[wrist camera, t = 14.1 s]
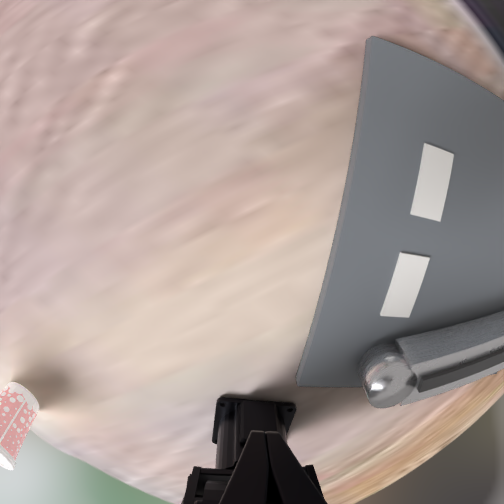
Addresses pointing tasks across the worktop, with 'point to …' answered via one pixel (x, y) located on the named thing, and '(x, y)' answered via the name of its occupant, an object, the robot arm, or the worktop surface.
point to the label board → (411, 214)
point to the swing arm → (432, 362)
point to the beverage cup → (15, 421)
